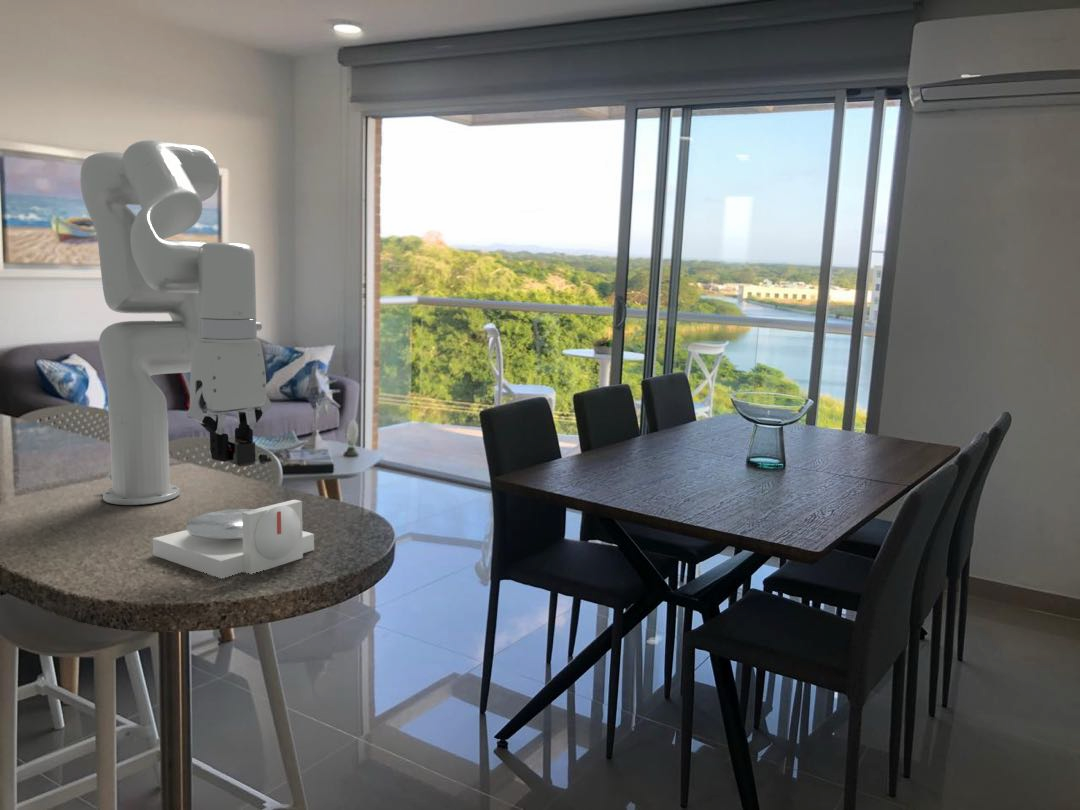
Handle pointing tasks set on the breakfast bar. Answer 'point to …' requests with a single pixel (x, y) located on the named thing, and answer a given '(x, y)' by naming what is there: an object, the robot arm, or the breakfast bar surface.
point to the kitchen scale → (239, 540)
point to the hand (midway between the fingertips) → (232, 456)
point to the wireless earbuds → (244, 452)
